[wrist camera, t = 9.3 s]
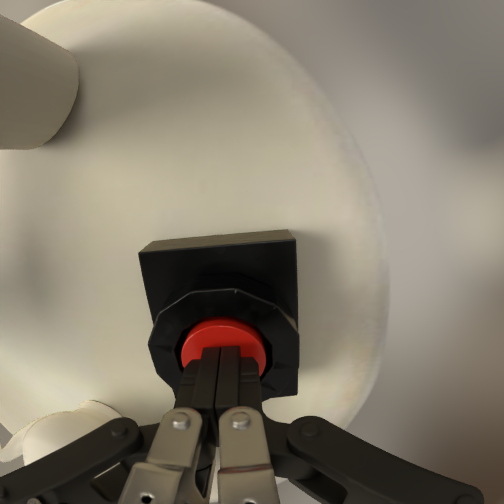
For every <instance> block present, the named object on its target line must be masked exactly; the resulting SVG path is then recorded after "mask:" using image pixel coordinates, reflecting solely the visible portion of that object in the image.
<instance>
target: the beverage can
mask: <svg viewBox="0 0 504 504" xmlns="http://www.w3.org/2000/svg"><path fill="white" fill-rule="evenodd" d="M78 86H79V68H78V64H77V61H76V59H75V57H74V56H73V55H72V54H71V53H70V52H69V51H68V50H66V49H64V48H62V47H61V46H59V45H57V44H55V43H54V42H52V41H50V40H48V39H46V38H45V37H43V36H41V35H39V34H37V33H35V32H34V31H32V30H30V29H28V28H26V27H24V26H22V25H20V24H18V23H16V22H14V21H12V20H10V19H8V18H6V17H4V16H2V15H0V150H3V149H18V150H28V149H34V148H36V147H39V146H41V145H43V144H44V143H46V142H47V141H48V140H50V139H51V138H52V137H53V136H54V135H55V134H56V133H57V131H58V130H59V129H60V128H61V126H62V125H63V123H64V121H65V120H66V118H67V116H68V115H69V113H70V111H71V109H72V106H73V104H74V101H75V98H76V95H77V91H78Z"/></svg>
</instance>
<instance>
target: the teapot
mask: <svg viewBox="0 0 504 504" xmlns="http://www.w3.org/2000/svg"><path fill="white" fill-rule="evenodd" d="M119 417H122V416H121V415H120V414H119V413H118V412H116V411H115V410H113V409H112V408H110V407H108V406H106V405H104V404H102V403H99V402H95V401H84V402H82V403H81V404H80V406H79V408H78V410H75V411H65V412H57V413H53V414H50V415H48V416H45V417H42V418H38V419H36V420H34V421H32V422H30V423H28V424H27V425H25V426H24V427H23V428H21V429H20V430H19V431H18V432H16V433H15V434H14V435H13V437H12V438H11V439H10V440H9V442H8V443H7V445H6V446H5V447H4V448H3V449H1V443H0V461H1V462H10V461H12V460H14V459H16V458H17V457H19V456H22V455H23V459H24V466H26V465H28V464H30V463H32V462H34V461H36V460H38V459H40V458H42V457H44V456H46V455H48V454H50V453H52V452H54V451H56V450H58V449H60V448H62V447H64V446H66V445H67V444H69V443H71V442H73V441H75V440H77V439H79V438H80V437H82V436H84V435H86V434H88V433H89V432H91V431H93V430H95V429H96V428H98V427H100V426H102V425H103V424H105V423H107V422H108V421H110V420H112V419H115V418H119ZM119 463H120V462H119ZM119 463H118V464H119ZM118 464H116V465H118ZM116 465H114V466H113V467H115V466H116ZM113 467H111V468H113ZM111 468H110V469H111ZM110 469H108V470H110ZM108 470H106V471H108ZM106 471H105V472H106ZM105 472H103V473H105ZM103 473H101V474H103ZM101 474H100V475H101ZM100 475H98V476H100ZM98 476H96V477H98ZM96 477H95V478H96Z"/></svg>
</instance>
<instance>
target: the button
mask: <svg viewBox="0 0 504 504" xmlns="http://www.w3.org/2000/svg"><path fill="white" fill-rule="evenodd" d="M223 346H240V352H241V357H251V356H253V357H254V359H255V360H256V361H257V362H258V364H259V375H260V376H261V375H262V373H263V371H264V369H265V365H266V354H265V345H264V337H263V334H262V333H261V332H260V330H259V329H258V328H257V327H256V326H255V325H252V324H250V323H247V322H245V321H242V320H240V319H237V318H235V317H232V316H225V317H209V318H202V319H201V320H199V321H197V322H196V323H194V324H193V325H191V326H189V329H188V332H187V335H186V338H185V341H184V345H183V348H182V352H181V360H182V364H183V367H184V368H185V366H186V365H187V364H188V363H189V362H190V361H191V360H192V359H201V355H202V350H203V348H204V347H221V348H222V347H223Z"/></svg>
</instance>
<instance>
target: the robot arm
mask: <svg viewBox="0 0 504 504" xmlns="http://www.w3.org/2000/svg"><path fill="white" fill-rule="evenodd" d="M180 383H181V384H180V386H179V390H178V393H177V397H176V401H175V405H174V408H173V409H172V410H170V411H169V412H167V413H166V414H165V415H164V416H163V418H162V420H161V422H159V423H157V424H152V425H146V426H140V427H138V425H137V423H136V422H135V421H134V420H132V419H130V418H126V417H119V418H115V419H112V420H110V421H108V422H107V423H105V424H103V425H102V426H100V427H98V428H96V429H95V430H93V431H91V432H89V433H88V434H86V435H84V436H82V437H80V438H79V439H77V440H75V441H73V442H71V443H69V444H67V445H66V446H64V447H62V448H60V449H58V450H56V451H54V452H52V453H50V454H48V455H46V456H44V457H42V458H40V459H38V460H36V461H34V462H32V463H30V464H28V465H26V466H24V467H22V468H20V469H17V470H15V471H13V472H11V473H9V474H6V475H4V476H2V477H0V504H209V499H210V494H211V488H212V482H213V476H214V471H215V465H216V461H215V450H216V447H220V470H218V476H217V480H218V503H219V504H280V500H279V495H278V490H277V485H276V480H275V476H276V477H283V478H288V480H289V481H290V482H291V483H292V484H294V485H295V486H297V487H298V488H299V489H301V490H302V491H304V492H305V493H307V494H308V495H309V496H311V497H312V498H314V499H315V500H317V501H319V502H320V503H321V504H484V497H483V494H482V493H481V491H480V490H479V489H478V488H476V487H474V486H471V485H468V484H465V483H462V482H459V481H456V480H453V479H451V478H448V477H445V476H442V475H440V474H437V473H434V472H432V471H429V470H427V469H424V468H422V467H419V466H417V465H415V464H412V463H410V462H408V461H405V460H403V459H401V458H399V457H397V456H394V455H392V454H390V453H388V452H386V451H384V450H382V449H380V448H378V447H375V446H373V445H371V444H369V443H367V442H365V441H364V440H362V439H360V438H358V437H356V436H354V435H352V434H350V433H348V432H346V431H345V430H343V429H341V428H339V427H337V426H336V425H334V424H332V423H330V422H328V421H327V420H325V419H323V418H321V417H317V416H304V417H301V418H298V419H296V420H294V421H293V422H292V423H291V424H287V423H280V422H276V421H273V420H271V419H270V418H268V417H267V416H266V415H265V414H264V412H263V410H262V399H261V386H260V375H259V364H258V362H257V361H256V360H255V359H254V357H253V356H251V357H241V352H240V346H223V347H222V348H221V347H204V348H203V350H202V355H201V359H192V360H191V361H190V362H189V363H188V364H187V365H186V366H185V368H184V371H183V375H182V379H181V382H180ZM119 462H120V463H119ZM118 463H119V464H118ZM116 464H118V465H116ZM114 465H116V466H115V467H113V466H114ZM111 467H113V468H111ZM110 468H111V469H110ZM108 469H110V470H108ZM106 470H108V471H106ZM105 471H106V472H105ZM103 472H105V473H103ZM101 473H103V474H101ZM100 474H101V475H100ZM98 475H100V476H98ZM96 476H98V477H96ZM95 477H96V478H95Z"/></svg>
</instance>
